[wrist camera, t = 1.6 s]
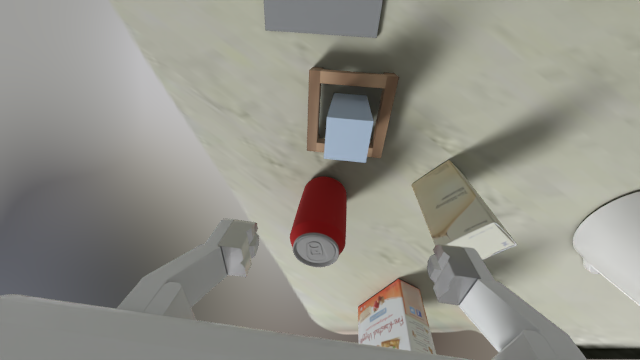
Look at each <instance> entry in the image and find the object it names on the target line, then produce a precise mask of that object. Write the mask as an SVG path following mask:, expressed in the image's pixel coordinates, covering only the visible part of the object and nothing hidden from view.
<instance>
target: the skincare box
mask: <svg viewBox="0 0 640 360" xmlns="http://www.w3.org/2000/svg"><path fill="white" fill-rule="evenodd" d="M412 188H413V190H414V192H415V195H416V198H417V200H418V203H419V205H420V208H421V211H422V213H423V216H424V218H425V221H426V223H427V226H428V229H429V231H430V234H431V236H432V239H433V242H434V244H435V246H436V245H437V244H441V245H450V246H459V247H469V248H474V249H475V250H476V251H477V252H478V254H479V255H480V257H481V259H482V260H483V259H486V258H488V257H490V256H493V255H495V254H497V253H499V252H502V251H504V250H507V249H509V248H511V247H514V246H516V245H517V244H516V242H515V241H514V240H513V239H512V237H511V236H510V235H509V233H508V232H507V231H506V229H505V228H504V227H503V226H502V224H501V223H500V222H499V220H498V219H497V218H496V216H495V215H494V214H493V212H492V211H491V210H490V209H489V207H488V206H487V205H486V203H485V202H484V201H483V200H482V198H481V197H480V196H479V194H478V193H477V192H476V190H475V189H474V188H473V186H472V185H471V184H470V183H469V181H468V180H467V179H466V177H465V176H464V175H463V174H462V173H461V172H460V171H459V169H458V168H457V167H456V166H455V165H454V164H453V163H452V162H451V161H450V160H448V161H446V162H445V163H443V164H442V165H440V166H439V167H437V168H436V169H434V170H432V171H431V172H429V173H428V174H426V175H425V176H423V177H422V178H420V179H419V180H417V181H416V182H415V183H413V184H412Z"/></svg>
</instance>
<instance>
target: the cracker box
mask: <svg viewBox="0 0 640 360" xmlns="http://www.w3.org/2000/svg"><path fill="white" fill-rule="evenodd" d="M358 329H359V344H366V345H373V346H380V347H387V348H394V349H401V350H408V351H415V352H422V353H429V354H436V352H435V348H434V344H433V340H432V336H431V332H430V328H429V324H428V321H427V317H426V313H425V309H424V305H423V301H422V297H421V293H420V290H419V289H418V288H416V287H414V286H412V285H410V284H408V283H406V282H404V281H402V280H400V279H397V280H396V281H395V282H393V283H392V284H390V285H389V286H388V287H386V288H385V289H383V290H382V291H380V292H379V293H378V294H376V295H375V296H373V297H372V298H370V299H369V300H368V301H366V302H365V303H363V304H362V305H360V306H359V307H358Z"/></svg>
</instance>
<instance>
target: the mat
mask: <svg viewBox="0 0 640 360" xmlns="http://www.w3.org/2000/svg"><path fill="white" fill-rule="evenodd" d="M382 1H383V0H264V12H265V29H266V30H269V31H284V32H298V33H313V34H328V35H342V36H357V37H372V38H377V32H378V26H379V20H380V14H381V8H382Z"/></svg>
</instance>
